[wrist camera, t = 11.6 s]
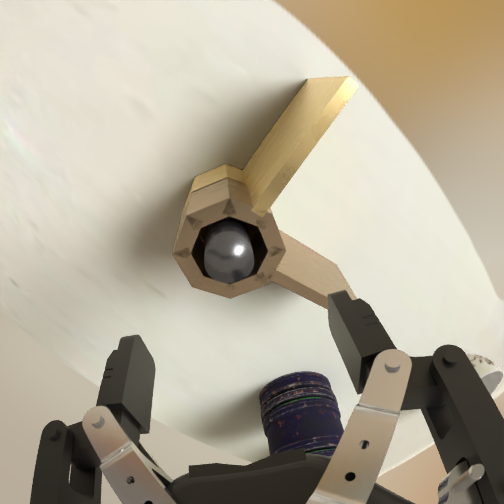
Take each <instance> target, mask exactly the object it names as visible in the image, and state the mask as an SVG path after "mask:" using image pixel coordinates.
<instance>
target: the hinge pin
mask: <svg viewBox="0 0 504 504" xmlns="http://www.w3.org/2000/svg"><path fill="white" fill-rule="evenodd" d="M204 266H205V269H206V271H207V273H208V274H209V275H210V276H211V277H212V278H213V279H215V280H216V281H219V282H222V283H235V282H239V281H241V280H243V279H245V278H246V277H247V276H248V275H249V274H250V273H251V271H252V269H253V267H254V255H253V251H252V246H251V241H250V237H249V232H248V227H247V223H246V222H244V221H242V220H239V219H236V218H233V217H230V216H229V217H226V218H224V219H221V220H219V221H216V222H214V223H211V224H209V225H207V226H206V238H205V255H204Z"/></svg>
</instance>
